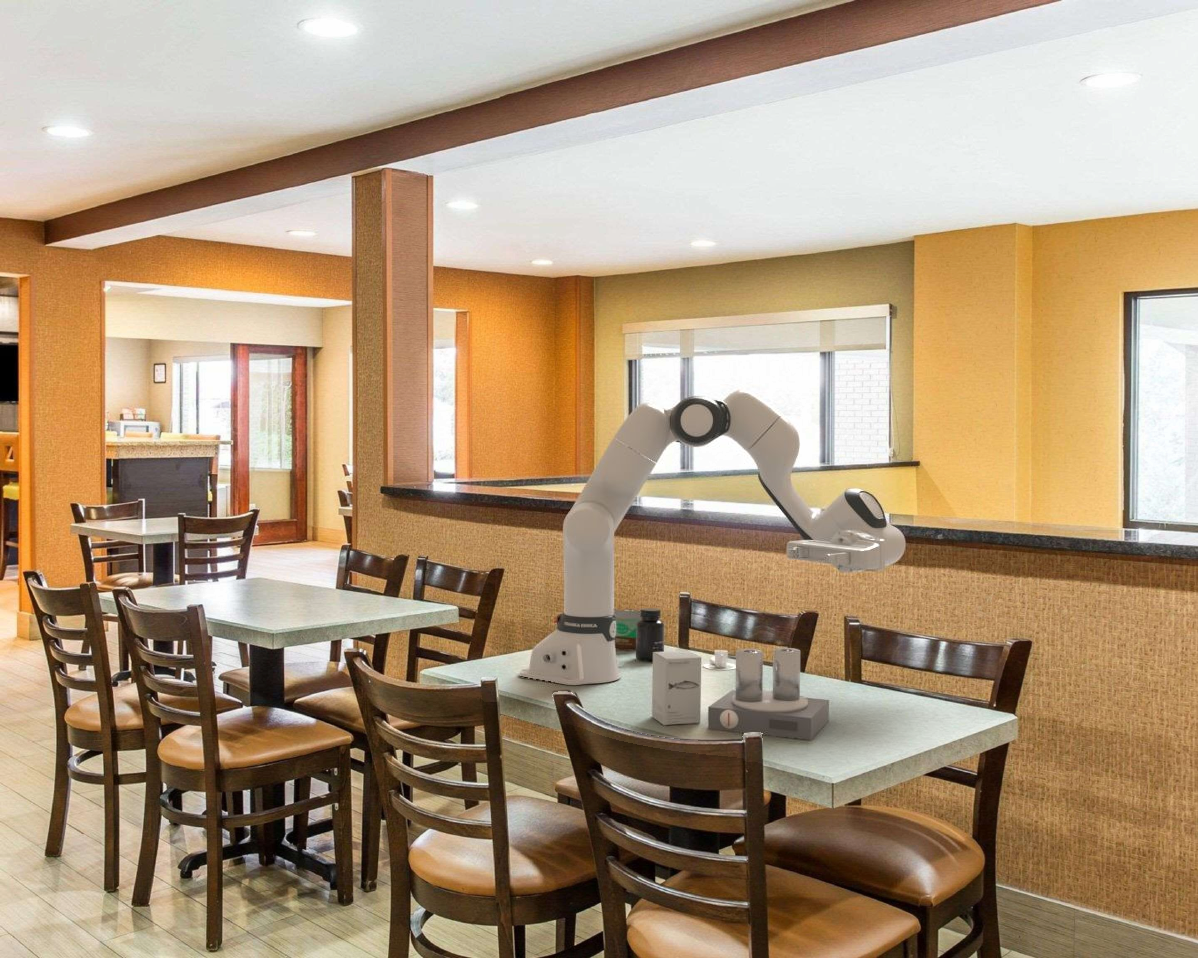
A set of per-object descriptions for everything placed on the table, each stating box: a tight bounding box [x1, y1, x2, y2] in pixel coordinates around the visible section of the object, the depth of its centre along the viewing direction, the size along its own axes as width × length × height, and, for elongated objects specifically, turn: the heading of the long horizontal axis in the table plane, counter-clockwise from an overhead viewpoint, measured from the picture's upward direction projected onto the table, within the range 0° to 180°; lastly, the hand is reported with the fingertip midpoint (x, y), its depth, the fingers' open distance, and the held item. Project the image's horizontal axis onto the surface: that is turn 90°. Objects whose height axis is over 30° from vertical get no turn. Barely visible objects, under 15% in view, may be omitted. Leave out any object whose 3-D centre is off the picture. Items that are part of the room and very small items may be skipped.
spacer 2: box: [772, 647, 801, 701], centre depth 212 cm, size 5×5×9 cm
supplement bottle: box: [635, 607, 665, 662], centre depth 271 cm, size 7×7×12 cm
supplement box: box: [651, 650, 702, 727], centre depth 214 cm, size 7×7×13 cm
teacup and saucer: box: [702, 649, 736, 671], centre depth 264 cm, size 9×8×4 cm
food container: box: [614, 608, 641, 651], centre depth 285 cm, size 12×6×10 cm, turn 71°
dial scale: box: [707, 689, 830, 741], centre depth 211 cm, size 19×15×5 cm
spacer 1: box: [734, 648, 764, 702], centre depth 210 cm, size 5×5×9 cm
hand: (808, 556), depth 227 cm, fingers open, 8 cm apart
